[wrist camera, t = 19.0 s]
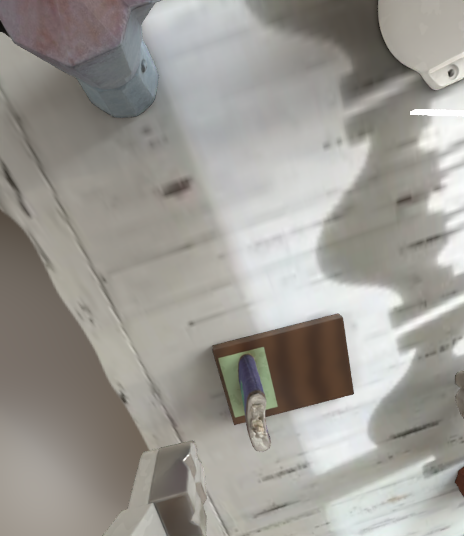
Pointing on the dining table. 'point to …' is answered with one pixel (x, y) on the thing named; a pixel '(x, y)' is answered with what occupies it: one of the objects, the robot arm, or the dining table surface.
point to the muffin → (460, 480)
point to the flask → (253, 402)
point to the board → (290, 366)
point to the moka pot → (90, 46)
